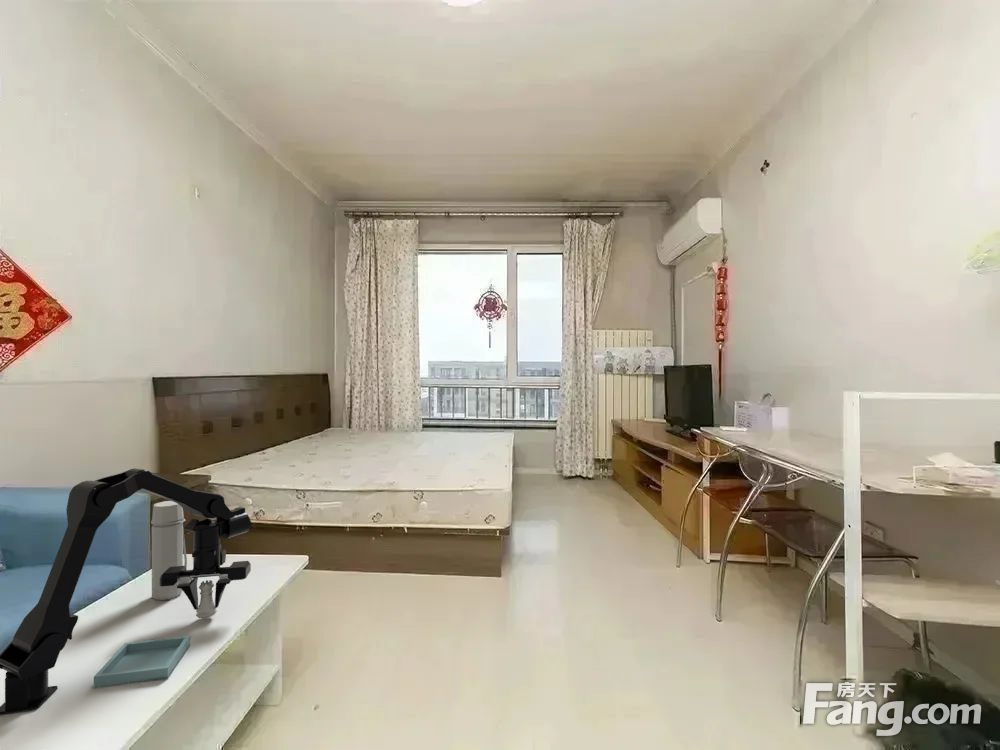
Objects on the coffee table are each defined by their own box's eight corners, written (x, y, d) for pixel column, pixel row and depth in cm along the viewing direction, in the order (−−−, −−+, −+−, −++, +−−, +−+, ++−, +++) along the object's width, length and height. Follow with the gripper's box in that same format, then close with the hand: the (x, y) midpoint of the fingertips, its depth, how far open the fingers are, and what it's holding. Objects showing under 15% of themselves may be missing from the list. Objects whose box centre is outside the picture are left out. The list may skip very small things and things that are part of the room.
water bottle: (165, 603, 134) (165, 508, 133) (143, 599, 136) (143, 505, 136) (196, 589, 142) (196, 499, 142) (175, 585, 145) (175, 497, 145)
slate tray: (167, 678, 101) (167, 667, 101) (93, 688, 98) (93, 676, 98) (190, 645, 113) (190, 635, 113) (124, 653, 110) (124, 643, 110)
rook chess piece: (193, 620, 122) (193, 586, 122) (198, 611, 127) (199, 579, 127) (214, 617, 123) (214, 584, 123) (218, 609, 128) (219, 577, 128)
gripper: (255, 531, 135) (255, 590, 135) (176, 537, 131) (176, 598, 131) (245, 545, 124) (245, 609, 124) (158, 551, 120) (158, 618, 120)
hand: (206, 608), depth 125 cm, fingers closed on rook chess piece, 4 cm apart
